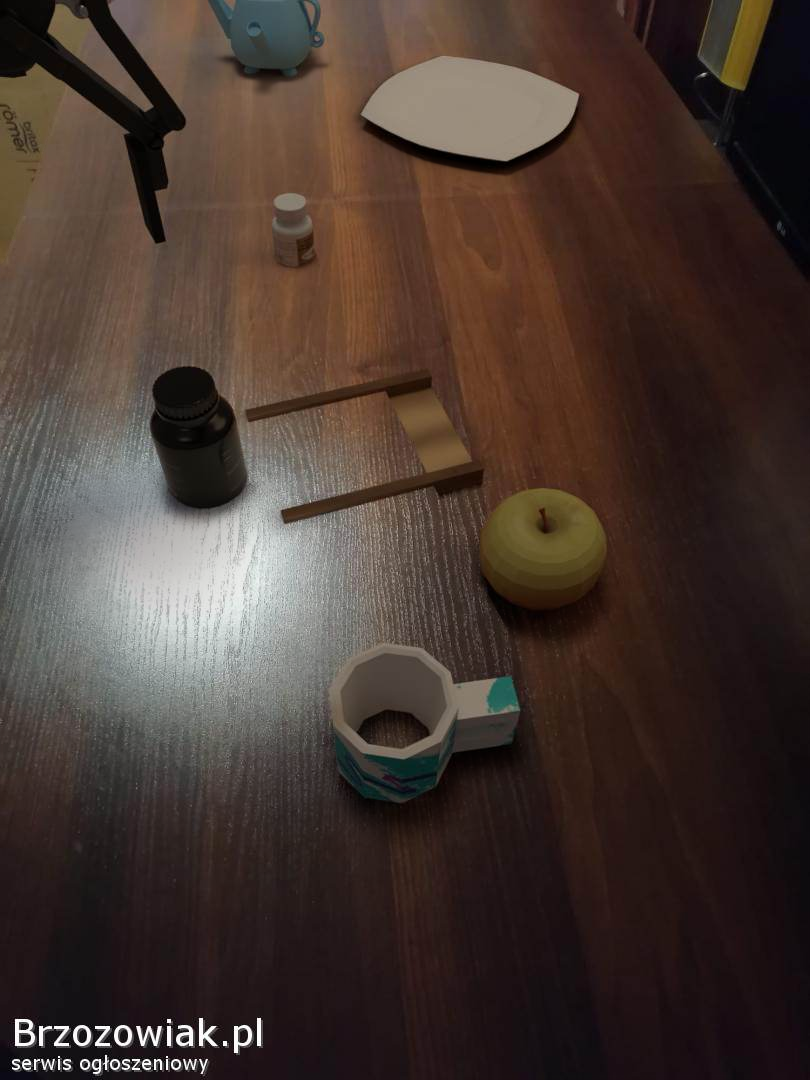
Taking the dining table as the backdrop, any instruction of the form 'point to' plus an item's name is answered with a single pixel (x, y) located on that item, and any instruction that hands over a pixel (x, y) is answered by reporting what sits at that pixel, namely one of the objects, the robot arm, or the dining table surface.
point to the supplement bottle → (196, 439)
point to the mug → (431, 696)
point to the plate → (472, 108)
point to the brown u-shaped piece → (422, 426)
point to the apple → (542, 549)
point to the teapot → (269, 32)
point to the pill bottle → (292, 231)
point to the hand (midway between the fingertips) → (58, 256)
